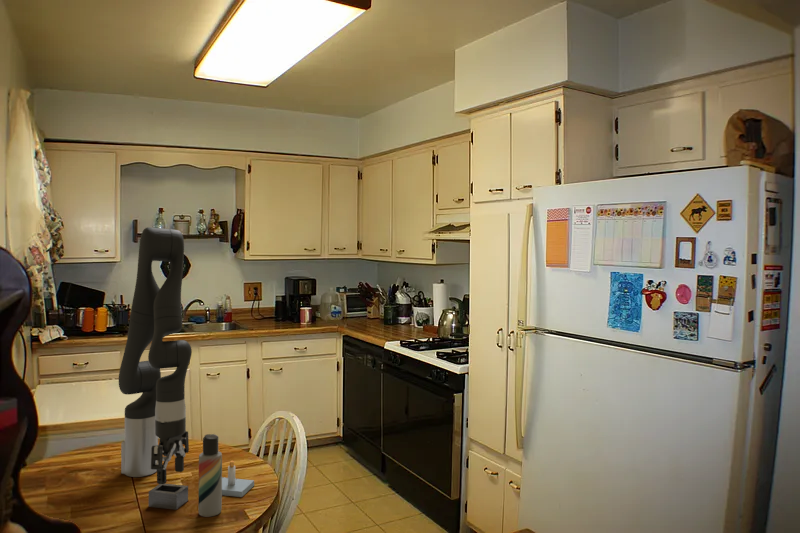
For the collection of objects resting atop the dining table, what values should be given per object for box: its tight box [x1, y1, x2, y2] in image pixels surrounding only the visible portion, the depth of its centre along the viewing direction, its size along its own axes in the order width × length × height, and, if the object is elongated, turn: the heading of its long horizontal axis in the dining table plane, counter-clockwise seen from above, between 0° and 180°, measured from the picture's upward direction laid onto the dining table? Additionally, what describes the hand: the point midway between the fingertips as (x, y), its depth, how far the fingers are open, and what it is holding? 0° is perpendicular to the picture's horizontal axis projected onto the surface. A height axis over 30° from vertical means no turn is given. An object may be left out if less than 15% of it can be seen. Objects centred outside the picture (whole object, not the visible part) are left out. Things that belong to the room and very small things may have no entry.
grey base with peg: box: [222, 460, 255, 498], centre depth 166 cm, size 10×8×8 cm
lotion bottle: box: [197, 433, 223, 518], centre depth 152 cm, size 6×6×20 cm
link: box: [148, 483, 189, 510], centre depth 156 cm, size 8×6×4 cm
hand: (170, 477), depth 156 cm, fingers open, 8 cm apart
